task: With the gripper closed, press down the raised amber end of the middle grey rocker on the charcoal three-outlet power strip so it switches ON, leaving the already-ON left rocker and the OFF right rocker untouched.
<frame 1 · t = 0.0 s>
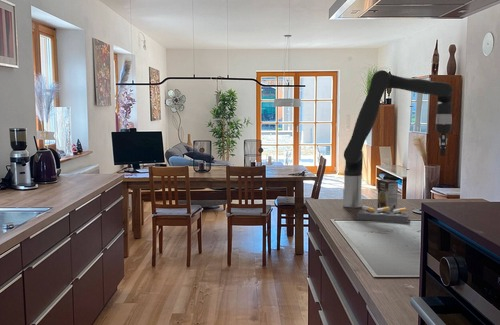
hand: (442, 155, 242), 29 cm above the counter, fingers open, 8 cm apart
power strip: (382, 219, 228), on the counter
left rocker: (367, 208, 233), point 4 cm above the counter, hinge at 15.0°
coffee box: (387, 211, 248), on the counter
middle rocker: (383, 209, 230), point 4 cm above the counter, hinge at -15.0°
right rocker: (399, 210, 227), point 4 cm above the counter, hinge at -15.0°
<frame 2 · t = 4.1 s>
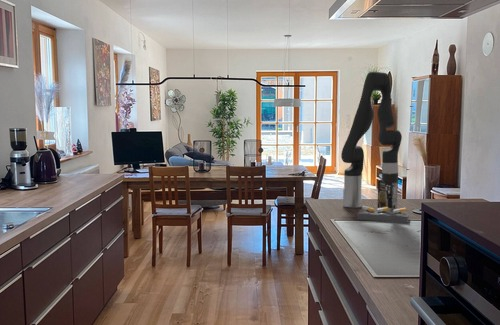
hand: (390, 207, 229), 5 cm above the counter, fingers closed
middle rocker: (383, 209, 230), point 4 cm above the counter, hinge at -13.6°, touching gripper
everything else where it was.
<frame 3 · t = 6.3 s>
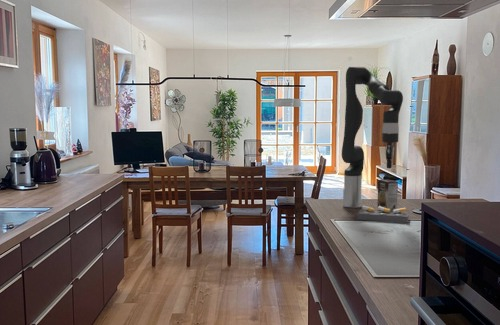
hand: (389, 168, 230), 24 cm above the counter, fingers closed
middle rocker: (383, 209, 230), point 4 cm above the counter, hinge at 12.8°
everything else where it was.
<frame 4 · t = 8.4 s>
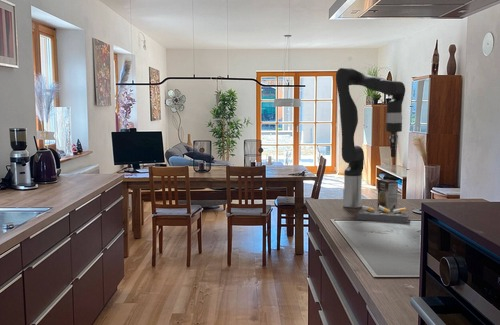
hand: (393, 156, 237), 29 cm above the counter, fingers closed
middle rocker: (383, 209, 230), point 4 cm above the counter, hinge at 23.4°, touching power strip
everything else where it was.
at the end: middle rocker at +23° (first picture: -15°); left rocker at +15° (first picture: +15°); right rocker at -15° (first picture: -15°) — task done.
